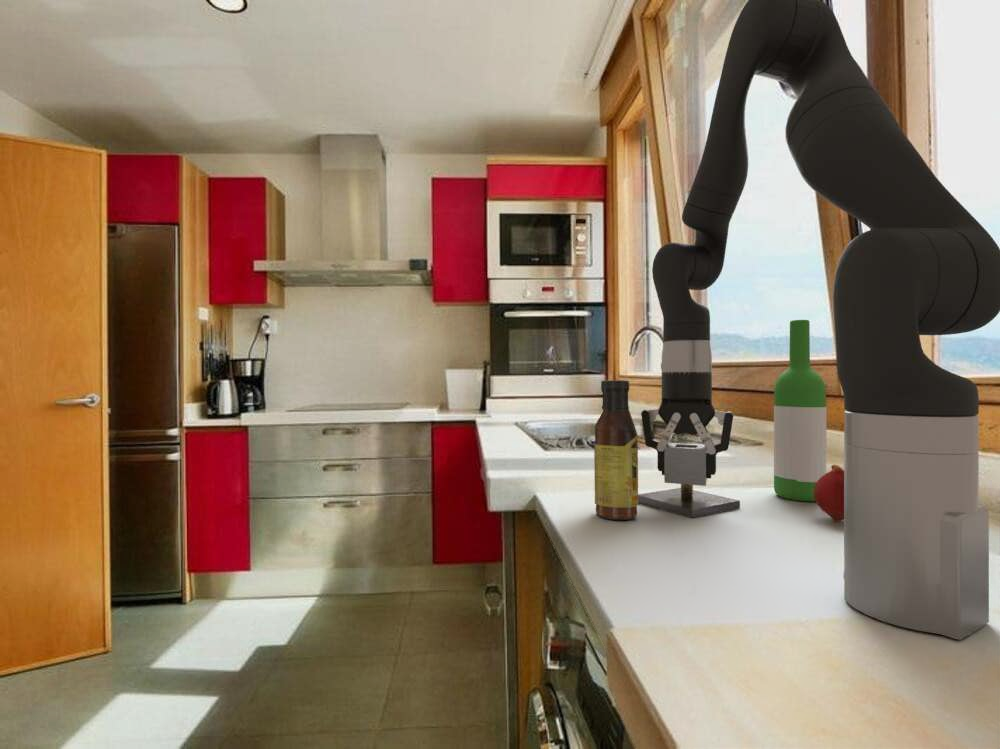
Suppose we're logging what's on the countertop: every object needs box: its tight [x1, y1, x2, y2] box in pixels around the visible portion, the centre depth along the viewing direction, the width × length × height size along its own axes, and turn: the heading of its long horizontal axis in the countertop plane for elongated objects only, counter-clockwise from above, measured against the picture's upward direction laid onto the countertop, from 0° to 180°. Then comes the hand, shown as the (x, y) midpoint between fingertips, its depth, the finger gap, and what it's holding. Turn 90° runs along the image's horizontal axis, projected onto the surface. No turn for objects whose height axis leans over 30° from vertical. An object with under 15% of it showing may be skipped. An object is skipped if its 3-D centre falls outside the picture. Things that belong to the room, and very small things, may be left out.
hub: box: [638, 484, 741, 519], centre depth 83 cm, size 11×11×9 cm
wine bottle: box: [773, 319, 827, 502], centre depth 88 cm, size 8×8×30 cm
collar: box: [663, 442, 709, 487], centre depth 83 cm, size 6×6×6 cm
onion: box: [814, 464, 844, 523], centre depth 74 cm, size 6×6×8 cm
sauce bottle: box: [593, 379, 639, 521], centre depth 76 cm, size 7×6×20 cm
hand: (686, 475), depth 83 cm, fingers closed on collar, 6 cm apart
